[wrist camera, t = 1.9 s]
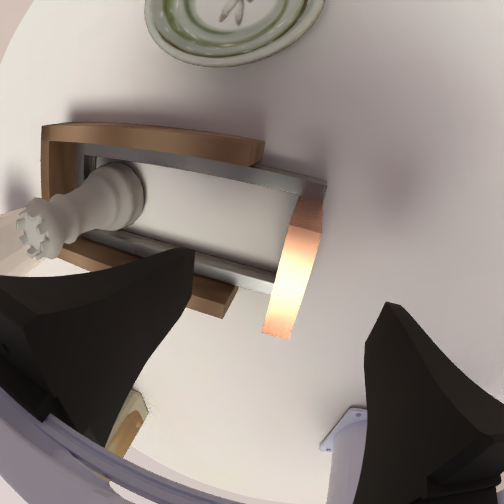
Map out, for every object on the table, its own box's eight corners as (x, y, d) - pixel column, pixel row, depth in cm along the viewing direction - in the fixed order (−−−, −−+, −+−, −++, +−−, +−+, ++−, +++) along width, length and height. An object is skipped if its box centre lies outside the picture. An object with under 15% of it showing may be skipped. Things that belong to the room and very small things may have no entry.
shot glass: (45, 279, 24) (-2, 314, 18) (11, 235, 23) (-36, 262, 17) (58, 233, 21) (-2, 268, 15) (21, 186, 20) (-37, 209, 14)
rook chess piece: (90, 198, 19) (4, 239, 12) (112, 147, 17) (14, 172, 10) (131, 237, 19) (49, 294, 12) (159, 187, 17) (64, 231, 10)
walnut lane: (265, 141, 15) (251, 144, 12) (237, 291, 19) (222, 319, 16) (72, 121, 17) (41, 125, 14) (73, 238, 21) (47, 252, 18)
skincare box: (109, 397, 30) (60, 465, 19) (98, 375, 28) (41, 447, 18) (152, 414, 29) (105, 493, 18) (143, 392, 27) (87, 478, 16)
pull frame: (326, 181, 15) (328, 209, 10) (296, 290, 18) (283, 353, 13) (88, 140, 17) (26, 153, 12) (88, 229, 20) (35, 260, 15)
